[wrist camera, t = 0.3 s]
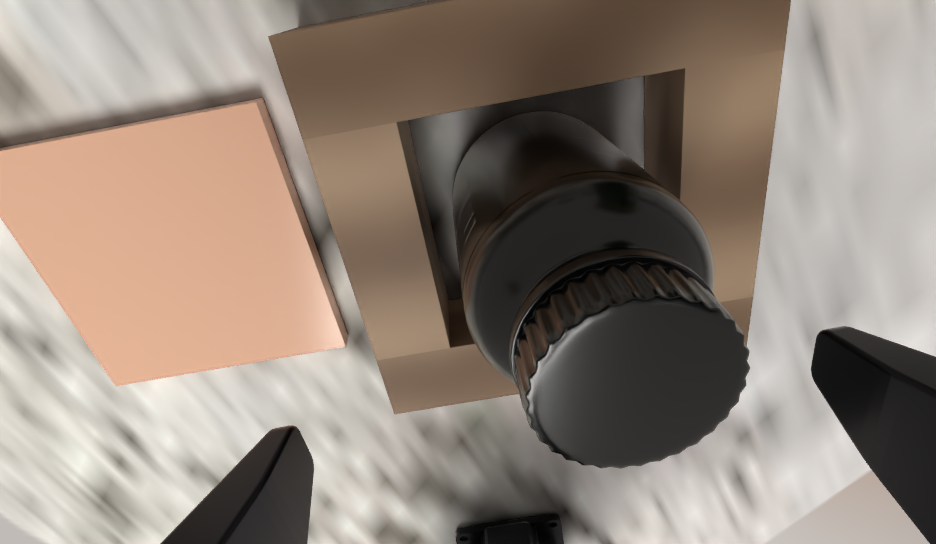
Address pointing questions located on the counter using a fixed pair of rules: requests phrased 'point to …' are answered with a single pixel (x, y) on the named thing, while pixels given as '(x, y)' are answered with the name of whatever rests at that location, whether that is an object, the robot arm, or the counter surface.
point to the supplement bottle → (592, 293)
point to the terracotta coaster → (173, 242)
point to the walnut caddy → (511, 78)
